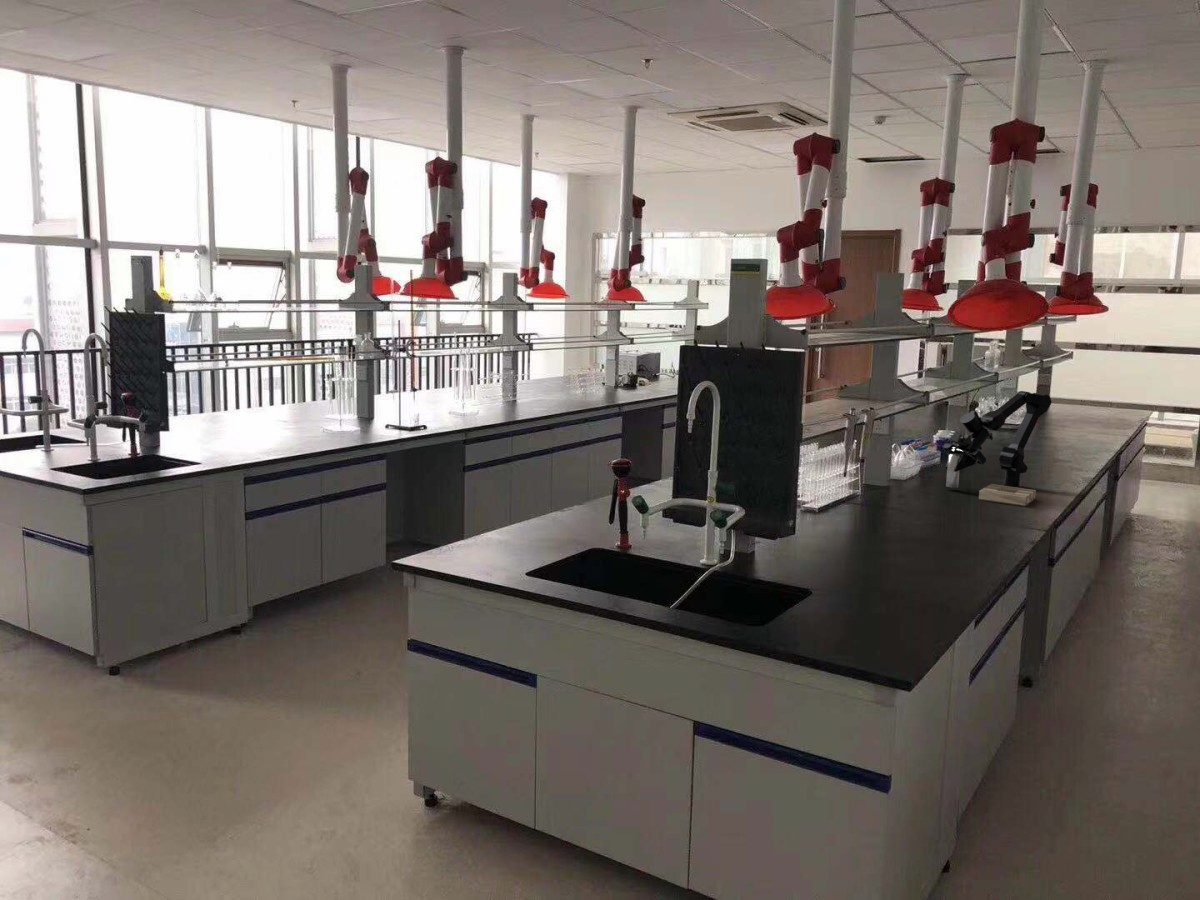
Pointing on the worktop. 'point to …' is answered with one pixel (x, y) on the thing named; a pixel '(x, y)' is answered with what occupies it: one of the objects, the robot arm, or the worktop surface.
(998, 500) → the socket block
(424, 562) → the worktop surface
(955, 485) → the steel roller
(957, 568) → the worktop surface
